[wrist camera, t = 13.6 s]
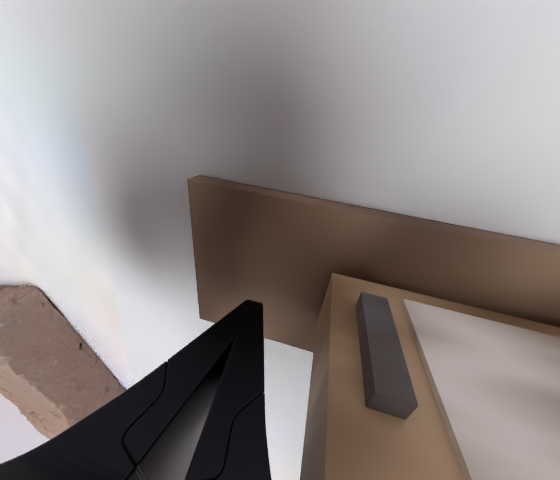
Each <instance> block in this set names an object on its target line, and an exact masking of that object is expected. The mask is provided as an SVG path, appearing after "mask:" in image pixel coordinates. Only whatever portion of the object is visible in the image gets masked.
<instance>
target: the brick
mask: <svg viewBox="0 0 560 480" xmlns="http://www.w3.org/2000/svg"><path fill="white" fill-rule="evenodd" d="M124 391H126V390H125V389H124V387H123V386H121V385H120V384H119V381H118V380H117V379H116V378H115V377H114V376H113V374H112V373H111V371H110V370H109V369H108V368H107V367H106V366H105V364H104V363H103V362H102V361H101V360H100V359H99V358H98V356H97V355H96V354H95V352H94V351H93V350H92V349H91V348H90V347H89V346H88V345H87V343H86V342H85V341H84V340H83V339H82V337H81V336H80V335H79V334H78V333H77V332H76V331H75V330H74V329H73V327H72V326H71V324H70V323H69V322H68V321H67V319H66V318H65V317H64V316H63V315H62V314H61V313H60V312H59V311H58V310H57V309H56V308H55V307H54V306H53V305H52V304H51V303H50V301H49V300H48V299H47V297H46V296H45V295H44V294H43V292H42V291H41V290H40V289H38V288H37V287H33V286H27V285H22V286H16V287H14V286H13V287H12V286H7V287H6V286H4V285H1V286H0V393H1V394H2V395H3V396H4V397H5V398H6V399H8V400H10V401H11V402H12V403H13V404H15V405H16V406H17V407H18V408H19V410H20V412H21V414H23V415H24V416H26V418H27V420H28V421H29V422H30V423H31V424H32V425H33V426H34V428H36V429H37V430H38V431H39V432H40V433H41V434H43V435H44V436H46V437H47V438H49V439H52V438H54V437H55V436H57V435H59V434H60V433H62V432H63V431H65V430H66V429H68V428H69V427H71V426H72V425H74V424H75V423H77V422H79V421H80V420H82V419H83V418H85V417H86V416H88V415H89V414H91V413H92V412H94V411H95V410H97V409H99V408H100V407H102V406H103V405H105V404H106V403H108V402H109V401H111V400H112V399H114V398H115V397H117V396H118V395H120V394H121V393H123V392H124Z"/></svg>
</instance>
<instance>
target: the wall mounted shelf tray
mask: <svg viewBox="0 0 560 480" xmlns="http://www.w3.org/2000/svg"><path fill="white" fill-rule="evenodd" d="M300 480H560V328H559V327H555V326H551V325H547V324H543V323H538V322H534V321H530V320H526V319H522V318H518V317H514V316H510V315H505V314H501V313H497V312H493V311H489V310H485V309H481V308H476V307H472V306H468V305H464V304H460V303H456V302H452V301H447V300H443V299H439V298H435V297H431V296H427V295H423V294H419V293H414V292H410V291H406V290H402V289H398V288H394V287H390V286H385V285H381V284H377V283H373V282H369V281H365V280H361V279H356V278H352V277H348V276H344V275H340V274H336V273H332V276H331V279H330V282H329V285H328V289H327V292H326V295H325V298H324V302H323V305H322V308H321V311H320V314H319V318H318V321H317V325H316V335H315V344H314V353H313V363H312V372H311V381H310V391H309V400H308V409H307V419H306V428H305V437H304V447H303V456H302V465H301V475H300Z"/></svg>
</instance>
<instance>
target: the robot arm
mask: <svg viewBox="0 0 560 480" xmlns="http://www.w3.org/2000/svg"><path fill="white" fill-rule="evenodd" d="M0 480H271V473H270V465H269V457H268V447H267V437H266V424H265V394H264V323H263V303H260V302H257V301H253V300H249V299H247V300H245V301H244V302H242V303H241V304H240V305H238V306H237V307H236V308H235V309H233V310H232V311H231V312H229V313H228V314H227V315H225V316H224V317H223V318H222V319H220V320H219V321H218V322H216V323H215V324H214V325H213V326H211V327H210V328H209V329H207V330H206V331H205V332H203V333H202V334H201V335H200V336H198V337H197V338H196V339H194V340H193V341H192V342H190V343H189V344H188V345H187V346H185V347H184V348H183V349H181V350H180V351H179V352H177V353H176V354H175V355H174V356H172V357H171V358H170V359H168V362H167V361H166V362H164V363H163V364H162V365H160V366H159V367H158V368H156V369H155V370H154V371H152V372H151V373H150V374H148V375H147V376H146V377H144V378H143V379H142V380H140V381H139V382H138V383H136V384H135V385H133V386H132V387H130V388H129V389H127V390H126V391H124V392H123V393H121V394H120V395H118V396H117V397H115V398H114V399H112V400H111V401H109V402H108V403H106V404H105V405H103V406H102V407H100V408H99V409H97V410H95V411H94V412H92V413H91V414H89V415H88V416H86V417H85V418H83V419H82V420H80V421H79V422H77V423H75V424H74V425H72V426H71V427H69V428H68V429H66V430H65V431H63V432H62V433H60V434H59V435H57V436H55V437H54V438H52V439H50V440H49V441H47V442H46V443H44V444H42V445H40V446H38V447H37V448H35V449H33V450H31V451H29V452H27V453H25V454H23V455H20V456H18V457H16V458H14V459H12V460H9V461H6V462H4V463H1V464H0Z"/></svg>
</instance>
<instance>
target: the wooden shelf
mask: <svg viewBox="0 0 560 480" xmlns="http://www.w3.org/2000/svg"><path fill="white" fill-rule="evenodd" d="M188 189H189V201H190V212H191V223H192V235H193V246H194V258H195V269H196V280H197V292H198V303H199V315H200V319H204V320H207V321H210V322H214V323H216V322H218V321H219V320H220V319H222V318H223V317H224V316H225V315H227V314H228V313H229V312H231V311H232V310H233V309H235V308H236V307H237V306H238V305H240V304H241V303H242V302H244V301H245V300H247V299H249V300H253V301H257V302H260V303H263V323H264V338H267V339H271V340H274V341H277V342H281V343H284V344H287V345H291V346H294V347H297V348H301V349H304V350H307V351H311V352H314V344H315V335H316V325H317V321H318V318H319V314H320V311H321V308H322V305H323V302H324V298H325V295H326V292H327V289H328V285H329V282H330V279H331V276H332V273H336V274H340V275H344V276H348V277H352V278H356V279H361V280H365V281H369V282H373V283H377V284H381V285H385V286H390V287H394V288H398V289H402V290H406V291H410V292H414V293H419V294H423V295H427V296H431V297H435V298H439V299H443V300H447V301H452V302H456V303H460V304H464V305H468V306H472V307H476V308H481V309H485V310H489V311H493V312H497V313H501V314H505V315H510V316H514V317H518V318H522V319H526V320H530V321H534V322H538V323H543V324H547V325H551V326H555V327H559V328H560V245H555V244H550V243H545V242H540V241H535V240H530V239H524V238H519V237H514V236H509V235H504V234H499V233H494V232H488V231H483V230H478V229H473V228H468V227H463V226H457V225H452V224H447V223H442V222H437V221H432V220H426V219H421V218H416V217H411V216H406V215H401V214H395V213H390V212H385V211H380V210H375V209H370V208H365V207H359V206H354V205H349V204H344V203H339V202H334V201H328V200H323V199H318V198H313V197H308V196H303V195H297V194H292V193H287V192H282V191H277V190H272V189H266V188H261V187H256V186H251V185H246V184H241V183H236V182H230V181H225V180H220V179H215V178H210V177H205V176H196V177H193V178H190V179H188Z"/></svg>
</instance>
